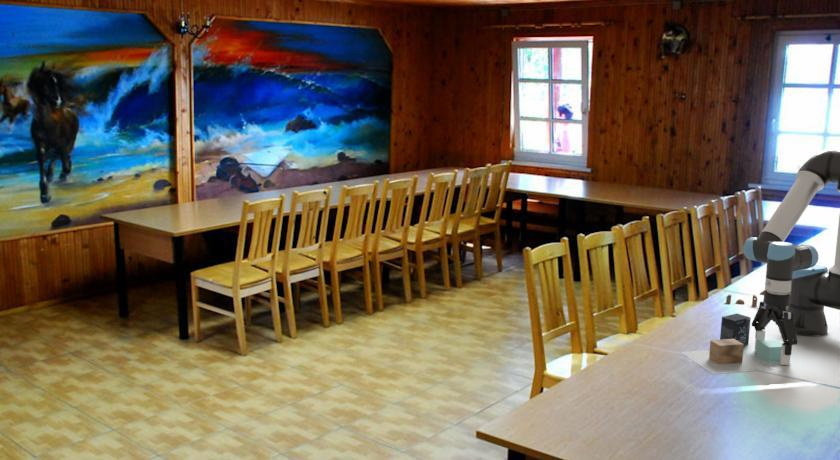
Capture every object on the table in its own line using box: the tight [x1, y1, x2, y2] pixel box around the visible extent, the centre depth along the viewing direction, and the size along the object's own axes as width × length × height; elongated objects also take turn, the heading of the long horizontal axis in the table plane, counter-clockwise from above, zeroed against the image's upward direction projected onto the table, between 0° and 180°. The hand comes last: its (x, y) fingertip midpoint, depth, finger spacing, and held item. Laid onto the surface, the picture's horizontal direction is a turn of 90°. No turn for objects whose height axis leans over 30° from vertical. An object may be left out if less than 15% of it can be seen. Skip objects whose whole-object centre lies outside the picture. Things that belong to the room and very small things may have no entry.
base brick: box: [709, 339, 745, 364], centre depth 252 cm, size 8×6×6 cm
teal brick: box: [755, 338, 784, 363], centre depth 255 cm, size 7×7×6 cm
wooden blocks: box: [725, 289, 787, 309], centre depth 315 cm, size 30×3×7 cm, turn 62°
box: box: [719, 313, 751, 346], centre depth 268 cm, size 8×6×11 cm
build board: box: [680, 349, 775, 375], centre depth 253 cm, size 20×20×1 cm
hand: (771, 357), depth 255 cm, fingers open, 13 cm apart
